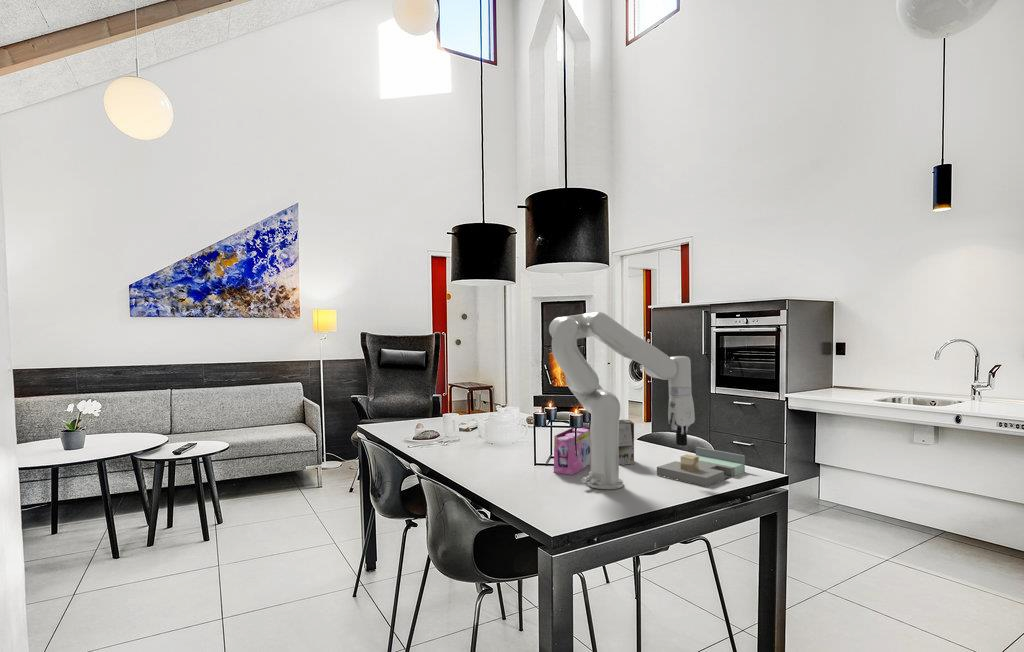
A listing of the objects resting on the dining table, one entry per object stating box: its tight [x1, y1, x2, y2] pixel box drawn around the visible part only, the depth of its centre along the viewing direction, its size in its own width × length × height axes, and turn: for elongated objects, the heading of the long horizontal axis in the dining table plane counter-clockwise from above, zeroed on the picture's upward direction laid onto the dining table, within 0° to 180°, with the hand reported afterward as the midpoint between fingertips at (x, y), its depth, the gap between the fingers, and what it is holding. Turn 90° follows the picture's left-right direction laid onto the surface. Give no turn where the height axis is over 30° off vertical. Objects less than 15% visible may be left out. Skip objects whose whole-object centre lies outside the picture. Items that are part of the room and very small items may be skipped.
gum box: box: [553, 426, 590, 476], centre depth 203 cm, size 24×8×14 cm, turn 152°
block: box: [680, 454, 699, 471], centre depth 188 cm, size 4×4×4 cm
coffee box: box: [618, 419, 635, 465], centre depth 211 cm, size 9×6×16 cm
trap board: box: [656, 446, 746, 487], centre depth 193 cm, size 28×19×6 cm
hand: (681, 444), depth 184 cm, fingers closed
